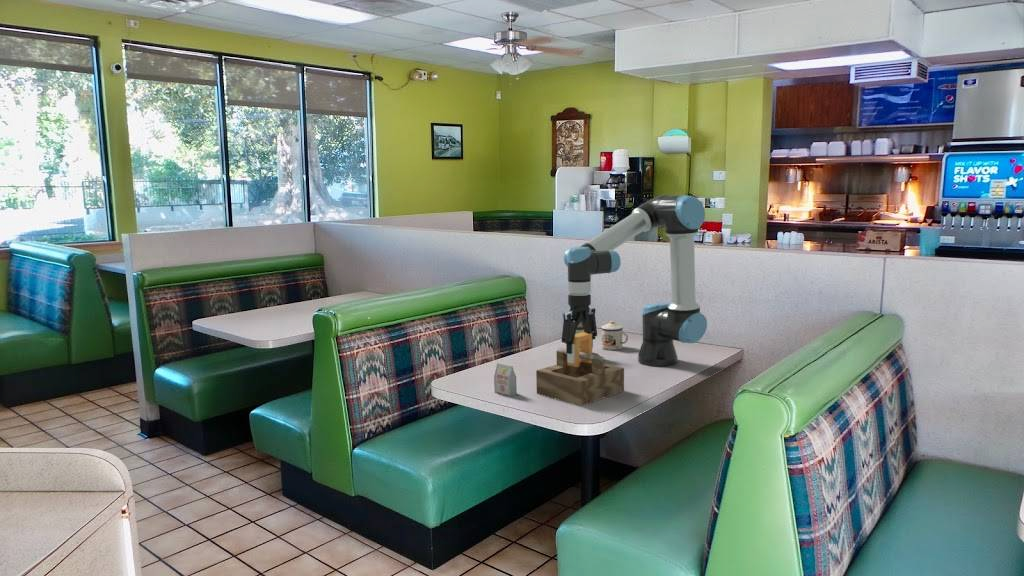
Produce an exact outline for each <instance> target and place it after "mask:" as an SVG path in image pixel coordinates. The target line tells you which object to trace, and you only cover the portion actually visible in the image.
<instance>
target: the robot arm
mask: <svg viewBox="0 0 1024 576" xmlns="http://www.w3.org/2000/svg"><path fill="white" fill-rule="evenodd" d="M705 210H706V209H705V207H704V204H703V203H702V201H700V199H698V198H697V197H696V196H691V195H683V194H682V195H681V194H680V195H668V194H667V195H666V194H665V195H658V196H656V197H654V198H651V199H649V200H647V201H646V202H644V203H642V204H640V205H638V206H637V207H636V208H634V209H633V210H632V212H631V214H629V215H628V216H626V217H625V218H623V219H621V220H620V221H618V222H617V223H616V224H614V225H612V226H611V227H609V228H608V229H606V230H604V231H602V232H601V233H599V234H597V235H596V236H595V237H593V238H591V239H590V240H588V241H587V242H585V243H584V244H582V245H580V246H574V247H570V248H568V249H566V250H565V252H564V254H563V263H564V265H565V266H566V267H567V281H568V282H567V292H568V293H569V294H568V295H567V305H568V306H569V307H570V308H569V311H568V312H564V313H562V316H563V322H562V324H563V325H562V332H561V343H563V344H565V345H566V347H565V349H566V352H567V362H569V363H573V364H574V363H575V344H573V341H574V337H575V334H576V330H577V326H578V325H579V323H580V322H581V323H582V326H583V329H584V332H585V333H591V334H592V348H594V347H593V346H594V344H593V343H594V340H596V337H598V330H597V329H598V328H597V321H596V308H594V307H589V306H591V305H592V304H591V303H592V297H591V292H592V285H591V284H592V282H591V280H592V278H591V277H592V276H593V275H602V274H611V273H615V272H617V271H618V270H619V269H620V267H621V264H622V263H621V261H622V260H621V256H620V254H619V253H618V252H617V251H615V249H617V248H619V247H620V246H622V245H624V243H627V242H628V241H629V240H631V239H633V238H634V237H635V236H637V235H639V234H641V233H642V232H644V233H645V232H649V231H650V230H652V229H654V228H662V227H663V228H664V229H665V230H664V231H665V232H664V233H665V235H666V236H667V237H668V238H669V251H670V253H669V254H670V256H669V257H670V259H669V260H670V284H671V285H670V287H671V302H657V303H656V302H655V303H654V302H653V303H648V304H645V305H644V306H643V309H642V343H641V346H640V349H639V352H638V356H637V359H638V360H637V362H638V363H640V364H642V365H646V366H653V367H666V366H667V367H669V366H673V365H676V364H677V363H678V360H679V359H678V355H677V354H678V353H677V352H676V351H677V350H676V347H675V345H674V341H677V342H681V343H684V344H695V343H698V342H699V341H701V339H702V338H703V337H704V335H705V334H706V331H707V328H708V320H707V317H706V316H705V314H703V313H702V312H701V306H700V304H699V303H698V302H697V301H696V271H695V269H696V268H695V267H696V265H695V261H696V260H695V259H696V258H695V237H696V235H698V234H699V228H701V226H702V225H703V223H704V221H705V217H706V211H705Z"/></svg>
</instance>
